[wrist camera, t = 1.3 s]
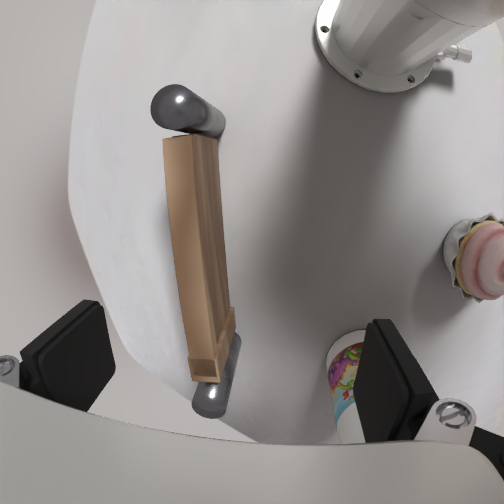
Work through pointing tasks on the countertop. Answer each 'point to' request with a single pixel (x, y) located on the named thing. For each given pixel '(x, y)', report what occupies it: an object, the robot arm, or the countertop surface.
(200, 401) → the post
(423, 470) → the robot arm
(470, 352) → the countertop surface
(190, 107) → the hinge post
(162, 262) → the countertop surface
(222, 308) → the walnut gate
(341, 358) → the milk bottle
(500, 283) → the cupcake
